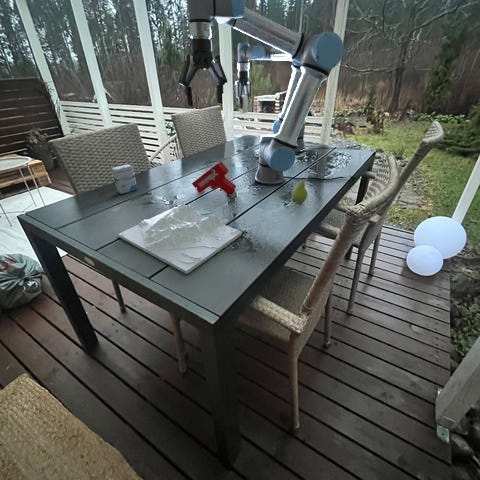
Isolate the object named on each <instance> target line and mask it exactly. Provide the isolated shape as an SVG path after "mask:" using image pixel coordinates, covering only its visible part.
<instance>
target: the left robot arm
mask: <svg viewBox="0 0 480 480" xmlns="http://www.w3.org/2000/svg"><path fill="white" fill-rule="evenodd" d="M186 2H187V13H188V25H189V36H190V38H191V40H190V48H191V50H190V51H191V55H190V54H184V56H183V65H182V68H181V72H180V76H179V79H178V85H181V86H182V87H183V89H184V96H185V97H186V99H187V106H188V107H193V106H194V103H193V93H192V86H190V85H191V83H192V81H193V79H194V77H195V76H196V74H197V72H198V71H199V70H208V71H209V72H210V74H211V76H212V77H213V79H214V80H215V81H216V83H217V84H216V103H217V104H223V94H224V85H226V84H227V83H228V77H227V76H226V73H225V71H224V68H223V66H222V63H221V56H220V55H219V54H213V41H212V39H211V38H212V21H211V18H213V19H215V20H216V22H217V23H218V24H221V25H226V26H228V27H230V28H233V29H235V30H237V31H240V32H241V33H243V34H246V35H248V36H250V37H252V38H253V39H256V40H258V41H260V42H263V43H264V44H266V45H268V46H273V47H275V48H277V49H279V50H281V51H283V52H285V53H287V54H288V56H289V58H291V59H293V60H295V61H297V62H299V63H300V64H302V66H301V70H302V76H301V78H300V81H299V83H298V86H297V88H296V91H295V93H294V96H293V98H292V101H291V103H290V106H289V108H288V111H287V113H286V115H285V118H284V120H283V123H282V125H281V128H280V130H279V133H277V134H275V135H274V134H263V135H261V136H260V138H259V153H258V157H259V158H258V167H257V170H256V172H255V177H254V181H255V183H258V184H259V185H262V186H263V185H264V186H279V185H281V184H283V183H284V181H285V179H289V180H290V179H292V180H298V181H299V180H301V181H302V180H305V179H306V178H307V177H293V176H285V175H284V172H286V171H289V170H290V169H291V168H292V167H293V165H294V164H295V161H296V152H295V150H296V148H297V146H298V145H297V142H296V140H297V137H298V135H299V133H300V130H301V128H302V126H303V124H304V121H305V119H307V117H308V114H309V112H310V110H311V107H312V105H313V103H314V101H315V99H316V96H317V94H318V92H319V89H320V88H321V85H322V83H323V82H324V81H326V80H327V79H328V78H329V76H330V75H331V73H332V69H334V68H335V67H337V66H338V65H339V64H340V62H341V60H342V58H343V56H344V42H343V39H342V37H341V36H340V35H339V34H338V33H336V32H334V31H323V32H321V33H317V34H308V33H304V32H302V31H298V32H297V31H296V32H295V31H293V30H291V29H289V28H288V27H285V26H283V25H282V24H279V23H278V22H276V21H274V20H272V19H270V18H267V17H266V16H264V15H262V14H260V13H258V12H255V10H252V9H249V8H248V7H246V0H186ZM191 63H193V64H192V66H191ZM213 63H214V65H213ZM190 66H191V69H190ZM189 69H190V70H189ZM305 122H306V121H305ZM310 177H311V176H310ZM310 177H309V178H307V179H306V180H319V181H334V180H337V179H344V178H346V177H342V176H336V177H330V178H331V179H330V178H323V179H321V178H322V177H311V178H310ZM350 178H351V179H353V180H355V177H354V176H353V177H350Z"/></svg>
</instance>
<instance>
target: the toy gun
mask: <svg viewBox="0 0 480 480" xmlns="http://www.w3.org/2000/svg"><path fill="white" fill-rule="evenodd" d="M228 173H229V169H228V168H227V166H226V165H225V164H224V163H223V162H222V161H219V162H217V163H216V164H214V166H212V167H211V168H210V169H209V170H207V171H206V172H204V173H203V174H202V175H201V176H199V177H198V178H197V179H196V180H194V181H193V182H192V183H191V184H192V186H193V187H194V189H195V190H196V191H197V193H199V194H201V193H203V192H204V191H205V190H207V189H208V188H210V189H211V190H213V191H215V190H216V189H218V188H219V189H220V190H222V191H223V192H224V193H225V194H226V196H227V197H229V196H230V195H233V194H235V192H236V188H237V186H236V184H235V183H233V182H232V181H230V180H229V179H228V178H227V177H226V175H227V174H228Z"/></svg>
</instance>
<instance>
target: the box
mask: <svg viewBox="0 0 480 480" xmlns="http://www.w3.org/2000/svg"><path fill="white" fill-rule="evenodd" d="M241 98H242V109H240V108H239V107H238V113H240V114H247V113H248V108H249V98H248V96H245V94H244V95H243V94H242V97H241Z"/></svg>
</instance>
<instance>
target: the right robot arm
mask: <svg viewBox="0 0 480 480" xmlns="http://www.w3.org/2000/svg"><path fill="white" fill-rule="evenodd" d="M250 61H291V62H292V64H291V68H292V73H291V78H290V80H289V84H288V89H287V93H286V96H285V100H284V104H283V107H282V111H281V112H280V113H279V114H278V117H277V120H275V121H274V122H273V123H272V133H273V135H275V134H277V133H279V130H280V128H281V125H282V123H283V120H284V118H285V115H286V113H287V111H288V108H289V106H290V103H291V101H292V98H293V96H294V93H295V91H296V88H297V86H298V83H299V81H300V78H301V76H302V70H301V66H302V64H300V63H299V62H297V61H295V60H293V59H291V58H289V56H288V54H287V53H285V52H283V51H281V50H279V49H277V48H275V47H273V46H271V45H268V46H266V45H259V44H257V45H250V42H238V44H237V70H238V71H237V77H238V78H237V80H236V81H234V85H235V98H237V99H238V102H237V103H238V109H239V108H240V109H242V98H241V97H242V95H243V91H244V95H245V96H248V99H250V97H252V83H253V82H252V80H250V79H249V77H250V71H249V70H250ZM243 89H244V90H243ZM306 119H307V118H306ZM306 119H305V121H304V124H303V126H302V128H301V130H300V133H299V135H298V137H297V140H296V142H297V145H298V146H297V148H296V150H295V152H294V153H303V152H305V151H306V148H305V147H308V145H307V146H306V145H305V141H304V138H305V129H306V123H307V122H306ZM346 147H347V148H346V149H353V148H357V147H359V148H362V146H361V145H360V144H357V145H353V146H352V145H351V146H346ZM303 149H305V150H303ZM300 150H303V151H300Z"/></svg>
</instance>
